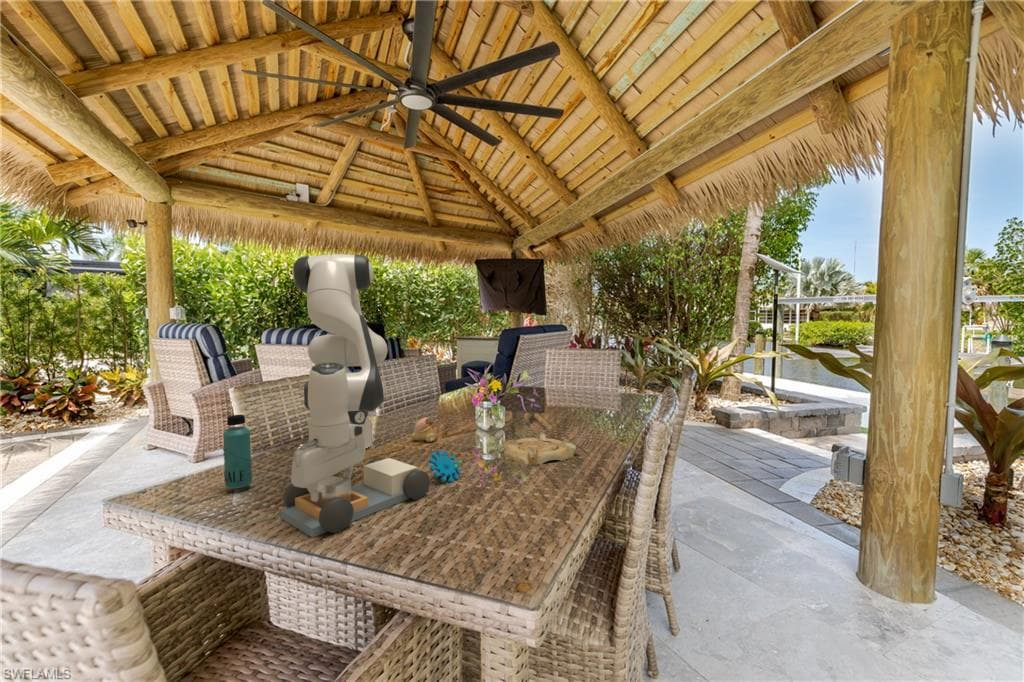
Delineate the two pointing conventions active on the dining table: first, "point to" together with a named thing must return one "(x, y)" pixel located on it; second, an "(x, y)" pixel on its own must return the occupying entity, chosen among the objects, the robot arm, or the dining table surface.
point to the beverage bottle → (237, 454)
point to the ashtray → (538, 450)
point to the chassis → (356, 497)
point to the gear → (445, 466)
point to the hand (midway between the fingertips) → (331, 492)
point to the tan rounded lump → (424, 430)
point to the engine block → (333, 489)
